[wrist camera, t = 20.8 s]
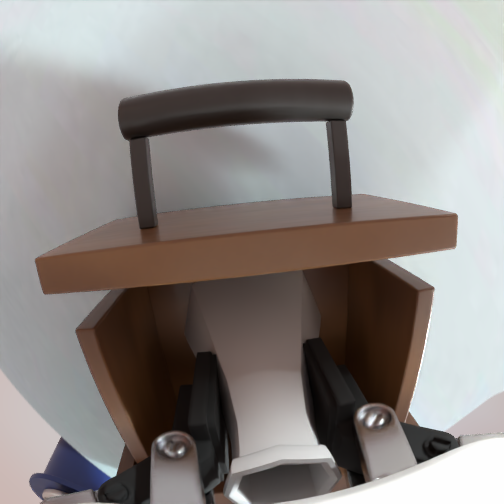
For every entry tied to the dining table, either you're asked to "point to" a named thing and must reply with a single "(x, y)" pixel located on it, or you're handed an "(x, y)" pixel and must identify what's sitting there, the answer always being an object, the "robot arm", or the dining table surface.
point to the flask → (264, 383)
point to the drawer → (247, 260)
